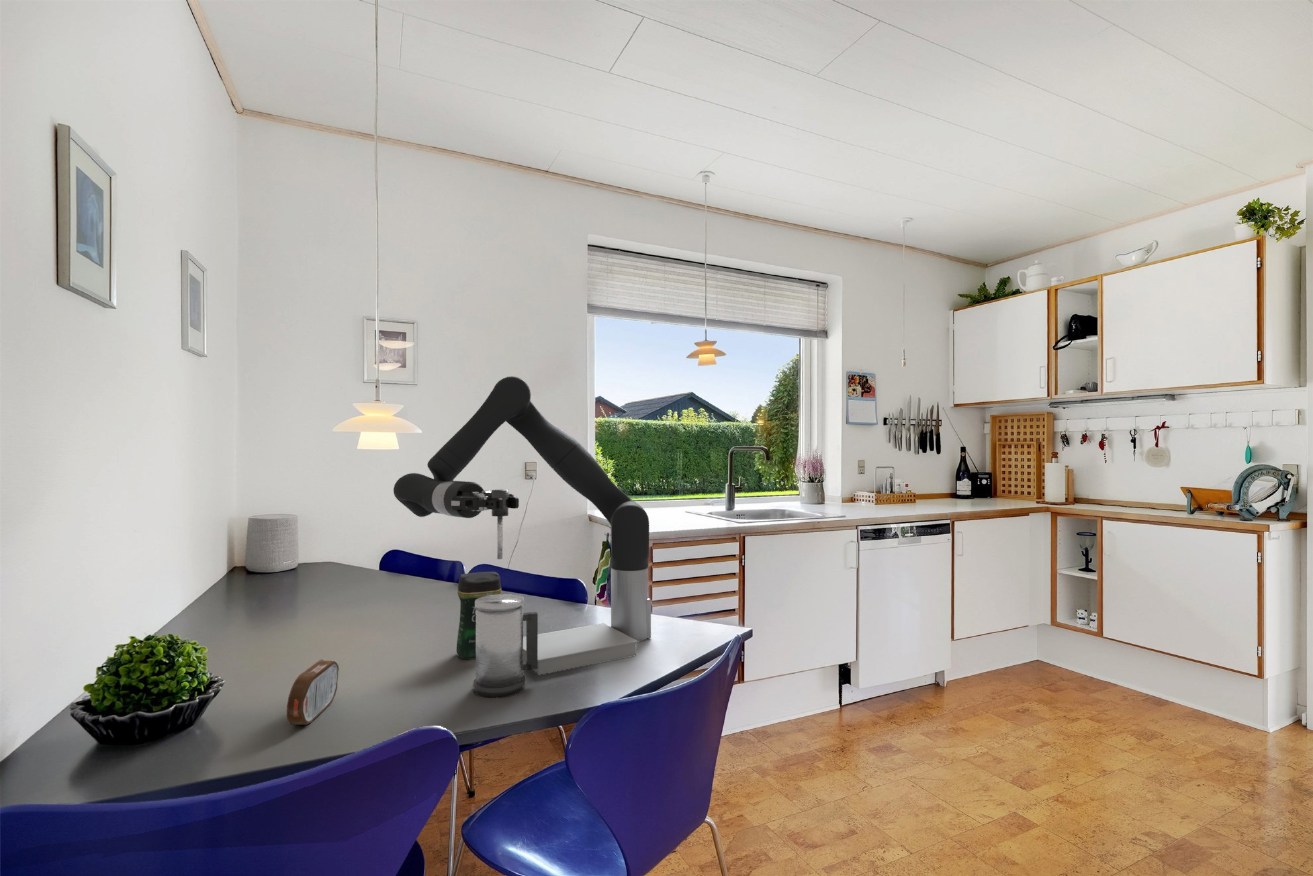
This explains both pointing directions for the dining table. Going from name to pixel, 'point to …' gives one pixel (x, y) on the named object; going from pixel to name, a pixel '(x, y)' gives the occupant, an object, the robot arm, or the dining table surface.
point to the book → (580, 647)
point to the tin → (312, 692)
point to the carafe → (503, 645)
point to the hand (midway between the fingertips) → (509, 503)
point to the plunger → (500, 519)
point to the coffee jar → (473, 607)
